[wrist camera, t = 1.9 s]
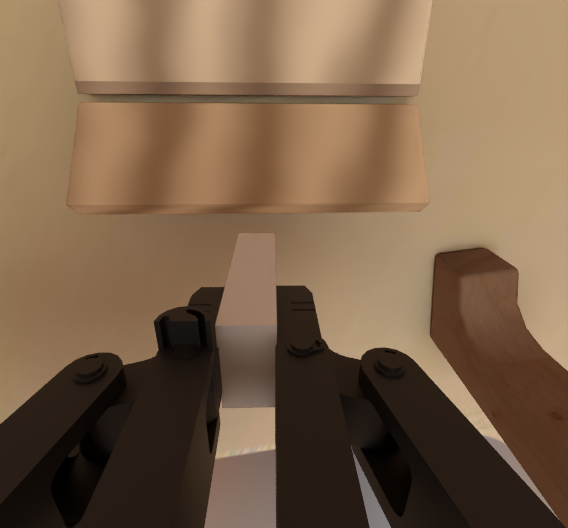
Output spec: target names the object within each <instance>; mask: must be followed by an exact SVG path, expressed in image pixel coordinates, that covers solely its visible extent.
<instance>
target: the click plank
mask: <svg viewBox="0 0 568 528" xmlns="http://www.w3.org/2000/svg"><path fill="white" fill-rule="evenodd" d="M429 203H430V198H429V190H428V183H427V175H426V167H425V159H424V152H423V144H422V136H421V128H420V120H419V113H418V105H390V104H235V103H81V102H79V107H78V115H77V123H76V131H75V139H74V147H73V155H72V163H71V171H70V179H69V187H68V195H67V203H66V205H67V206H68V207H70V208H71V209H72V210H74V211H75V212H77V213H78V214H199V213H323V212H420V211H421V210H422V209H423V208H425V207H426V206H427V205H428V204H429Z"/></svg>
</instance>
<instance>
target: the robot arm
mask: <svg viewBox="0 0 568 528" xmlns="http://www.w3.org/2000/svg"><path fill="white" fill-rule="evenodd" d="M154 326H155V331H156V337H157V343H158V348H159V350H158V352H157V355H156V356H155V357H153V358H151V359H148V360H144V361H141V362H136V363H132V364H128V365H123V363H122V360H121V359H120V358H119V357H118V356H117V355H115V354H112V353H95V354H90V355H86V356H84V357H82V358H79V359H77V360H75V361H73V362H72V363H70V364H69V365H68V366H66V367H65V368H64V369H63V370H61V371H60V372H59V373H58V374H57V375H56V376H55V377H53V378H52V379H51V380H50V381H49V382H48V383H47V384H46V385H44V386H43V387H42V388H41V389H40V390H39V391H38V392H36V393H35V394H34V395H33V396H32V397H31V398H30V399H29V400H27V401H26V402H25V403H24V404H23V405H22V406H21V407H19V408H18V409H17V410H16V411H15V412H14V413H13V414H12V415H10V416H9V417H8V418H7V419H6V420H5V421H4V422H2V423H1V424H0V528H204V525H205V519H206V512H207V506H208V499H209V493H210V487H211V481H212V474H213V468H214V461H215V455H216V449H217V442H218V436H219V430H220V416H219V408H220V402H221V399H222V408H252V407H275V444H276V528H369V523H368V519H367V515H366V510H365V506H364V501H363V497H362V493H361V488H360V484H359V479H358V475H357V471H356V466H355V462H354V457H353V453H352V450H353V452H354V454H355V456H356V458H357V460H358V462H359V464H360V466H361V468H362V470H363V472H364V474H365V476H366V478H367V480H368V482H369V484H370V486H371V488H372V490H373V492H374V494H375V496H376V498H377V500H378V502H379V504H380V506H381V508H382V510H383V512H384V514H385V516H386V518H387V520H388V522H389V524H390V526H391V528H566V527H565V526H564V525H563V524H562V523H561V521H560V520H559V519H558V518H557V517H556V516H555V515H554V514H553V513H552V512H551V511H550V509H549V508H548V507H547V506H546V505H545V504H544V503H543V502H542V501H541V500H540V498H539V497H538V496H537V495H536V494H535V493H534V492H533V491H532V490H531V489H530V487H529V486H528V485H527V484H526V483H525V482H524V481H523V480H522V479H521V478H520V476H519V475H518V474H517V473H516V472H515V471H514V470H513V469H512V468H511V467H510V465H509V464H508V463H507V462H506V461H505V460H504V459H503V458H502V457H501V456H500V454H498V452H497V451H496V450H495V449H494V448H493V447H492V446H491V445H490V444H489V442H488V441H487V440H486V439H485V438H484V437H483V436H482V435H481V434H480V432H479V431H478V430H477V429H476V428H475V427H474V426H473V425H472V424H471V423H470V421H469V420H468V419H467V418H466V417H465V416H464V415H463V414H462V413H461V412H460V410H459V409H458V408H457V407H456V406H455V405H454V404H453V403H452V402H451V401H450V400H449V398H448V397H447V396H446V395H445V394H444V393H443V392H442V391H441V390H440V389H439V387H438V386H437V385H436V384H435V383H434V382H433V381H432V380H431V379H430V378H429V376H428V375H427V374H426V373H425V372H424V371H423V370H422V369H421V368H420V367H419V365H418V364H417V363H416V362H415V361H414V360H413V359H411V358H410V357H409V356H408V355H406V354H404V353H402V352H400V351H398V350H395V349H390V348H374V349H371V350H368V351H367V352H366V353H365V354H364V355H363V356H362V358H361V360H358V359H354V358H349V357H345V356H342V355H339V354H337V353H335V352H333V351H332V350H330V349H329V347H328V345H327V344H326V342H325V341H324V340H323V339H322V338H321V333H320V328H319V323H318V319H317V314H316V311H315V305H314V300H313V295H312V293H311V292H310V291H309V290H308V289H307V288H306V287H305V286H276V263H275V233H239V234H238V238H237V241H236V245H235V249H234V253H233V257H232V261H231V265H230V269H229V273H228V277H227V281H226V285H225V287H201V288H200V289H199V290H198V291H196V292H195V293H194V294H193V295H192V296H191V299H190V301H189V304H188V306H186V307H177V308H174V309H171V310H168V311H166V312H164V313H162V314H161V315H159V316H158V317H157V318H156V319H155V321H154ZM351 446H352V449H351Z"/></svg>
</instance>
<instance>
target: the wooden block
mask: <svg viewBox="0 0 568 528" xmlns="http://www.w3.org/2000/svg"><path fill="white" fill-rule="evenodd" d="M518 275H519V273H518V270H517V269H516V268H515V267H514V266H512V265H511V264H509V263H508V262H506V261H505V260H503V259H502V258H500V257H499V256H497V255H496V254H494V253H493V252H491V251H490V250H488V249H485V248H481V249H474V250H467V251H459V252H452V253H445V254H439V255H437V256H436V264H435V279H434V294H433V309H432V324H431V338H432V340H433V341H434V342H435V344H436V345H437V347H438V348H439V350H440V351H441V352H442V354H443V355H444V357H445V358H446V359H447V361H448V362H449V364H450V365H451V367H452V368H453V369H454V371H455V372H456V374H457V375H458V376H459V378H460V379H461V381H462V382H463V384H464V385H465V386H466V388H467V389H468V391H469V392H470V394H471V395H472V396H473V398H474V399H475V401H476V402H477V403H478V405H479V406H480V408H481V409H482V411H483V412H484V413H485V415H486V416H487V418H488V419H489V421H490V422H491V423H492V425H493V426H494V428H495V429H496V430H497V432H498V433H499V435H500V436H501V438H502V439H503V440H504V442H505V443H506V445H507V446H508V447H509V449H510V450H511V452H512V453H513V455H514V456H515V457H516V459H517V460H518V462H519V463H520V464H521V466H522V467H523V469H524V470H525V472H526V473H527V474H528V476H529V477H530V479H531V480H532V481H533V483H534V484H535V486H536V487H537V488H538V490H539V491H540V493H541V494H542V496H543V497H544V498H545V500H546V501H547V503H548V504H549V506H550V507H551V508H552V510H553V511H554V513H555V514H556V515H557V517H558V518H559V520H560V521H561V523H562V524H563V525H564V526H565V527H566V528H568V371H567V370H566V369H564V368H563V367H562V366H561V365H560V364H559V363H558V362H557V361H555V360H554V359H553V358H552V357H551V356H550V355H549V354H548V353H546V352H545V351H544V350H543V349H542V347H541V346H540V345H539V344H538V342H537V341H536V340H535V339H534V337H533V336H532V335H531V333H530V332H529V331H528V330H527V328H526V326H525V323H524V320H523V318H522V315H521V312H520V309H519V307H518V304H517V297H518Z"/></svg>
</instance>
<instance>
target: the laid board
mask: <svg viewBox="0 0 568 528" xmlns="http://www.w3.org/2000/svg"><path fill="white" fill-rule="evenodd" d="M58 4H59V9H60V13H61V18H62V22H63V27H64V31H65V36H66V41H67V45H68V50H69V54H70V59H71V63H72V68H73V72H74V77H75V83H76V87H77V92H78V94H144V95H276V96H407V97H409V96H418V94H419V87H420V79H421V73H422V66H423V59H424V53H425V46H426V40H427V33H428V27H429V20H430V14H431V7H432V0H58Z"/></svg>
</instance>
